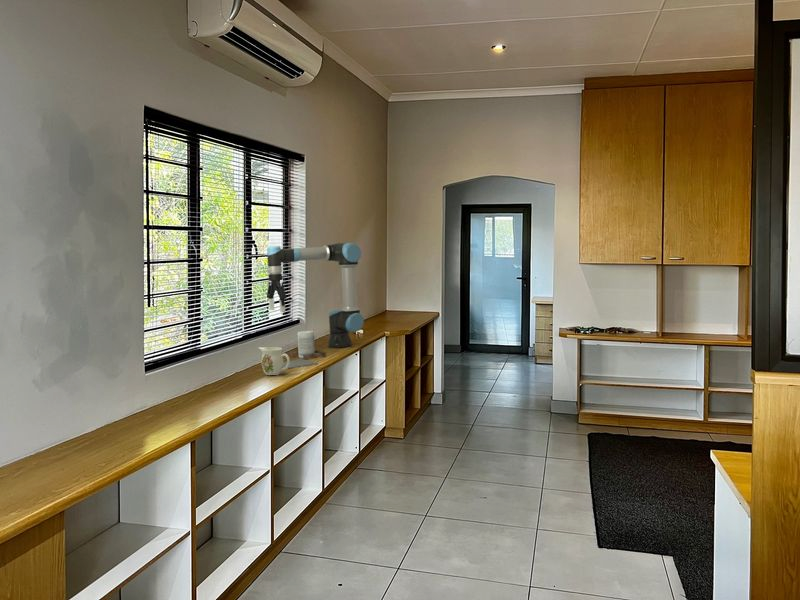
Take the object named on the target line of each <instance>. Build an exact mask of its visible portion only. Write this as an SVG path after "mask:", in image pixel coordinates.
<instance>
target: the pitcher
mask: <svg viewBox="0 0 800 600" xmlns="http://www.w3.org/2000/svg"><path fill="white" fill-rule="evenodd" d="M257 349H259V350H260V351H261V353H262V356H261V359H260V361H261V367H262V370H263V372H264V374H265V376H267V375H277V376H280V375H281V373H282V372H284V371H286V370H287V369H288V367H289V365H290V361H291V359H290V356H289V355H288V354H287V353H282V352H283V348H282V347H277V346H276V347H274V346H272V347H271V346H267V347H266V346H265V347H264V346H262V347H261V346H260V347H257ZM284 357H285V358H286V362H287V365H286V367H283V362H285V361H284ZM279 374H280V375H279Z"/></svg>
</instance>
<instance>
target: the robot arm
mask: <svg viewBox="0 0 800 600" xmlns="http://www.w3.org/2000/svg"><path fill="white" fill-rule="evenodd" d="M266 252H267V253H266V255H267V271H268V285H267V286H268V287H267V293H266V297H267V298H268V308H269V311H274V310H275V297H274V295H275V293H276V292H277V295H278V297H279V312H280V313H282V312H283V313H284V312H286V304H285V303H286V301H285V300H287V294H286V291H285V288H284V287H285V286H284V282H283V281H282V280H283V274H282V273H283V270H282V269H283V266H282V263H295V262H296V263H297V262H300V261H301V262H302V261H303V262H304V261H318V260H319V261H320V260H322V261H325V262H329V261H330V262H331V261H332V262H338V266H339V267H340V268H341V286H342V288H341V289H342V290H341V291H342V292H341V293H342V308H341V309H336V310H330V311H329V312H328V321H329V336H328V341H327V348H330V347H331V349H340V347H344V348H350V347H352V345H353V343H352V339H351V337H350V334H349V333H356V332H358V331H361V329H362V328H363V327H364V322H365V321H364V320H365V319H364V316H363V315H362V314H361V311H360V310H361V309H360V308H359V307H358V296H357V295H358V294H357V271H356V270H357V267H358V265H359V261H360V259H361V257H362V256H361V255H362V250H361V248H360V246H358V245H357V244H356V243H354V242H337V243H331V244H325V245H323V246H319V247H318V246H317V247H313V246H312V247H301V248H300V247H296V248H293V247H291V248H282V247H281V246H280V245H273V246H267V249H266ZM281 281H282V282H281ZM349 346H350V347H349Z"/></svg>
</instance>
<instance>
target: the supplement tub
mask: <svg viewBox="0 0 800 600" xmlns="http://www.w3.org/2000/svg"><path fill="white" fill-rule="evenodd" d="M315 345H316V344H315V333H314V330H302V331H298V332H297V349H298V351H297V352H298V353H299V356H298V357H299V358H300V359H303V355H308V354H314V353H315V350H316V346H315Z"/></svg>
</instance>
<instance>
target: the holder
mask: <svg viewBox="0 0 800 600" xmlns="http://www.w3.org/2000/svg"><path fill="white" fill-rule="evenodd" d="M290 356H291V358H295V357H294V356H296V357H299V353H298V351H291V352H290ZM324 356H327V355H326V352H325V351H322V350H316V349H315V353H314V354H308V355H303V358H302V359H304V360H306V359H307V360H313V358H314V359H318V357H320V358H324Z"/></svg>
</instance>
